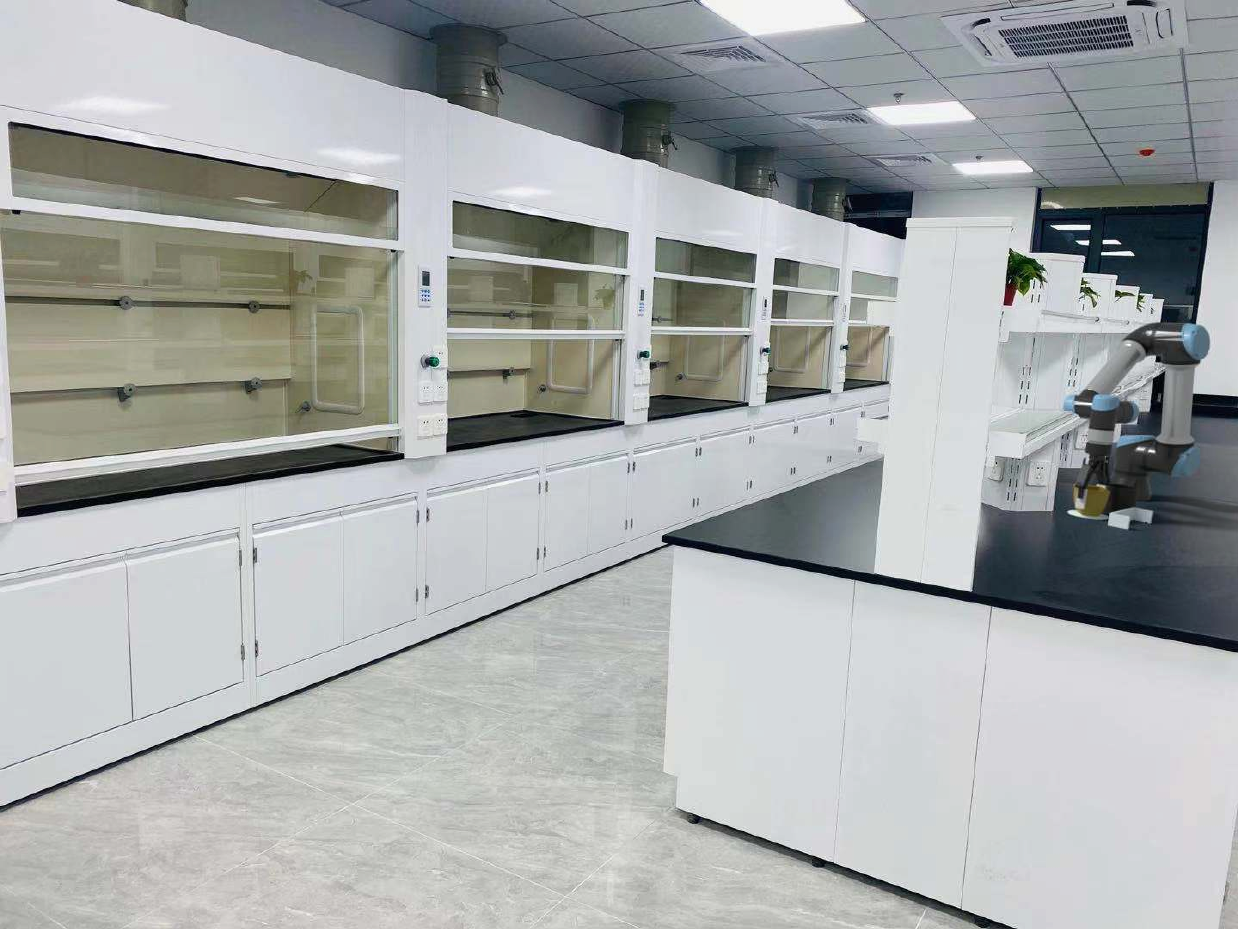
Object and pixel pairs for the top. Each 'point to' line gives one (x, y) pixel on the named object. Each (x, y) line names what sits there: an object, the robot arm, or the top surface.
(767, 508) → the top surface
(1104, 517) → the pad
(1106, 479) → the robot arm
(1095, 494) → the flower pot
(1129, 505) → the mug
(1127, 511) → the bracket
